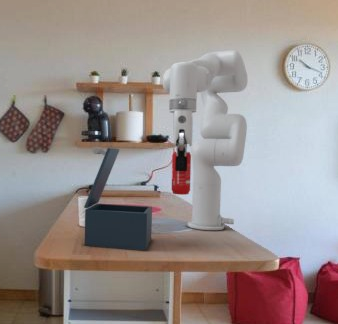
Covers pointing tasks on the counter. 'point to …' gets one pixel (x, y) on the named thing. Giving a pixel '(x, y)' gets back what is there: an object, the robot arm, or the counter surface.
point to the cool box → (118, 226)
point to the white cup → (83, 209)
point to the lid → (101, 174)
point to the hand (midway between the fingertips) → (181, 169)
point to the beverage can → (181, 177)
